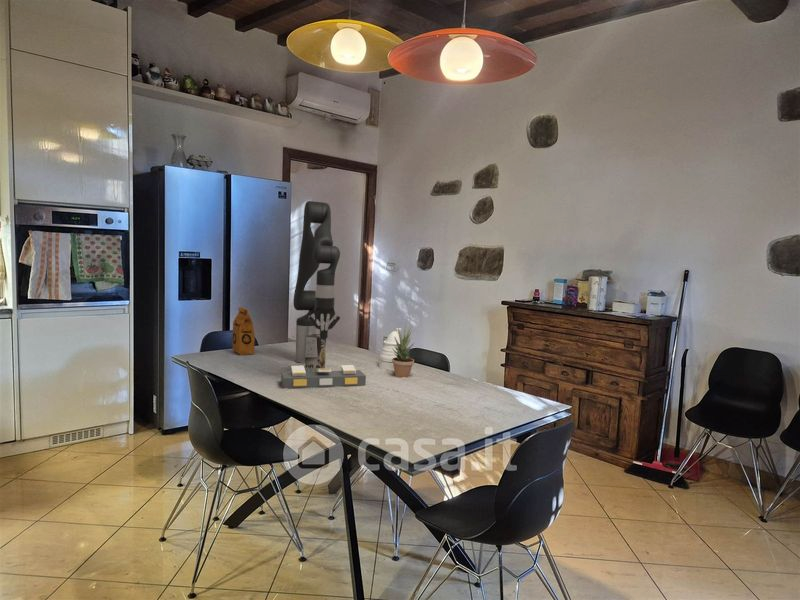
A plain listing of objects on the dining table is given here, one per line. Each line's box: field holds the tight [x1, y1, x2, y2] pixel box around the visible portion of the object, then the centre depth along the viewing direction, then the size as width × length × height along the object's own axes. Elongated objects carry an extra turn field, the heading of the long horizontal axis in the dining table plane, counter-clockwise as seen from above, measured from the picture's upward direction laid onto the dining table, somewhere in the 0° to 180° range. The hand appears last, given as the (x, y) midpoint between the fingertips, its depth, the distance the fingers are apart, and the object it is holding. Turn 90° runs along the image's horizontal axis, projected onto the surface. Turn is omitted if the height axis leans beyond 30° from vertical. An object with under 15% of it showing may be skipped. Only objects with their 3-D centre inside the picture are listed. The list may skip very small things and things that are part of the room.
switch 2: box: [316, 367, 332, 372], centre depth 223 cm, size 6×5×1 cm
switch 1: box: [290, 365, 306, 376], centre depth 220 cm, size 6×5×1 cm
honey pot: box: [378, 327, 408, 371], centre depth 259 cm, size 13×13×18 cm
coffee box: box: [304, 333, 327, 372], centre depth 242 cm, size 9×6×16 cm
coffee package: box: [231, 306, 256, 356], centre depth 274 cm, size 10×12×22 cm
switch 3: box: [340, 364, 357, 374], centre depth 226 cm, size 6×5×1 cm
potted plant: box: [392, 322, 415, 378], centre depth 242 cm, size 10×10×25 cm
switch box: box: [280, 369, 367, 389], centre depth 223 cm, size 11×32×4 cm, turn 108°
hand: (323, 339), depth 224 cm, fingers closed
